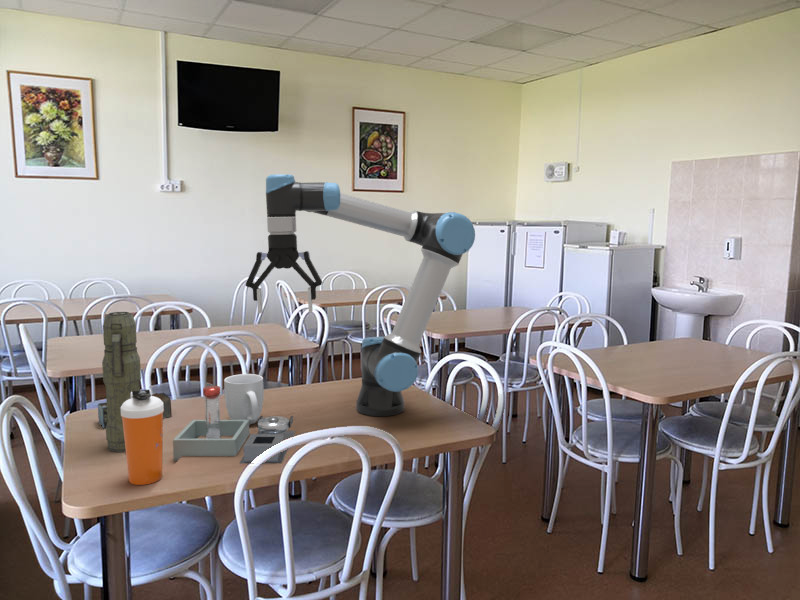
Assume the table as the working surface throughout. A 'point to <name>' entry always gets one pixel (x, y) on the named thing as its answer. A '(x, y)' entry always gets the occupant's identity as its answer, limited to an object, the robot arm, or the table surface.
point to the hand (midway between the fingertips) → (285, 312)
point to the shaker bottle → (143, 437)
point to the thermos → (119, 372)
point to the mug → (244, 396)
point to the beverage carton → (164, 398)
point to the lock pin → (212, 411)
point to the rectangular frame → (192, 446)
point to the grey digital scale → (268, 438)
